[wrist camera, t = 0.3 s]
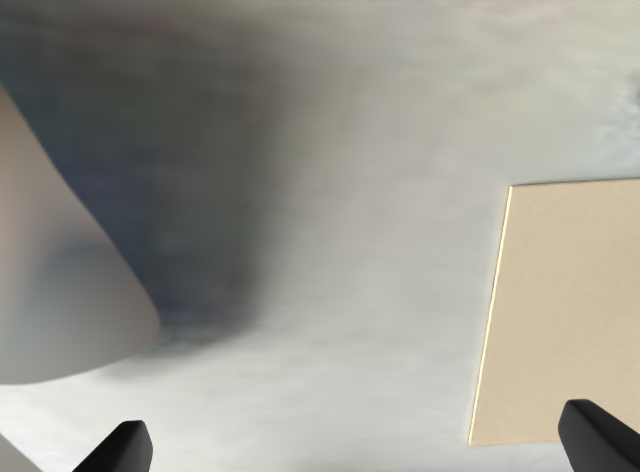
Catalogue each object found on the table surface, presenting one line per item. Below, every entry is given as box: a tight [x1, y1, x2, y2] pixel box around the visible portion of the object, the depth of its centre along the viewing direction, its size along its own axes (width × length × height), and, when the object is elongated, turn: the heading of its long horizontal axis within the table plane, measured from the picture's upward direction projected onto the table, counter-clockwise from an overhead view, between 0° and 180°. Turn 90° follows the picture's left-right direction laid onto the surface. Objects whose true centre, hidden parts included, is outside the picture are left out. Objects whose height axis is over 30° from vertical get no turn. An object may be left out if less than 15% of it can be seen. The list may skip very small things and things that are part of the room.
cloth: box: [468, 178, 640, 447], centre depth 26 cm, size 21×17×1 cm
